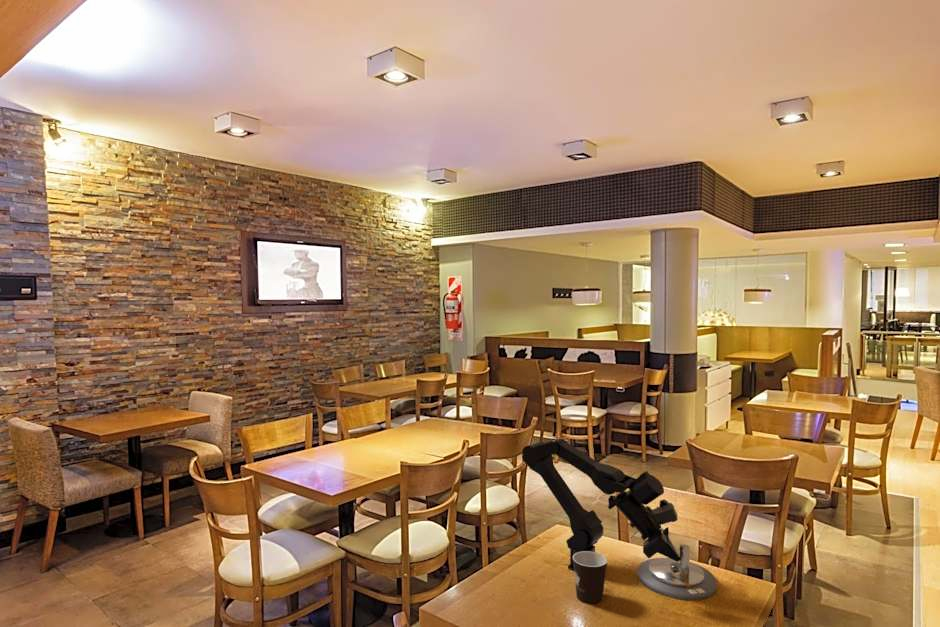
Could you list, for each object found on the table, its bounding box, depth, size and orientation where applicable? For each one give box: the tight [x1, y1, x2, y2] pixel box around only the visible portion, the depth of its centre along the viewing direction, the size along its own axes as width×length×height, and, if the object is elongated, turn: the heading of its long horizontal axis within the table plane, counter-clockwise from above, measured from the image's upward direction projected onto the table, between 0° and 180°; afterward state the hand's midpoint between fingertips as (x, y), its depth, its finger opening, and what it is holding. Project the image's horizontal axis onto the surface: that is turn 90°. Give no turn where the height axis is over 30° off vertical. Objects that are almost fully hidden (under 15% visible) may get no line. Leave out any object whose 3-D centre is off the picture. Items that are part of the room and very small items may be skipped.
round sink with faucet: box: [649, 544, 704, 587], centre depth 150 cm, size 16×14×10 cm
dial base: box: [637, 557, 718, 601], centre depth 152 cm, size 20×20×2 cm
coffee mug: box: [573, 551, 608, 605], centre depth 144 cm, size 12×9×10 cm
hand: (678, 560), depth 146 cm, fingers closed, pressing on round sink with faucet
